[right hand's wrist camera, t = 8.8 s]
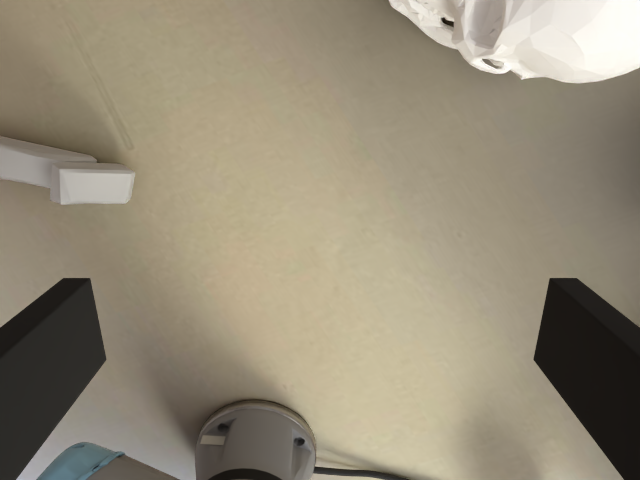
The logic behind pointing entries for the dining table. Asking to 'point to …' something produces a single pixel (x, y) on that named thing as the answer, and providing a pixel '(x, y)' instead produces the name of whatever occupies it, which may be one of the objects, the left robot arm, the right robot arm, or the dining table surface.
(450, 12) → the skull
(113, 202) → the white segmented bar
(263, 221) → the dining table surface
